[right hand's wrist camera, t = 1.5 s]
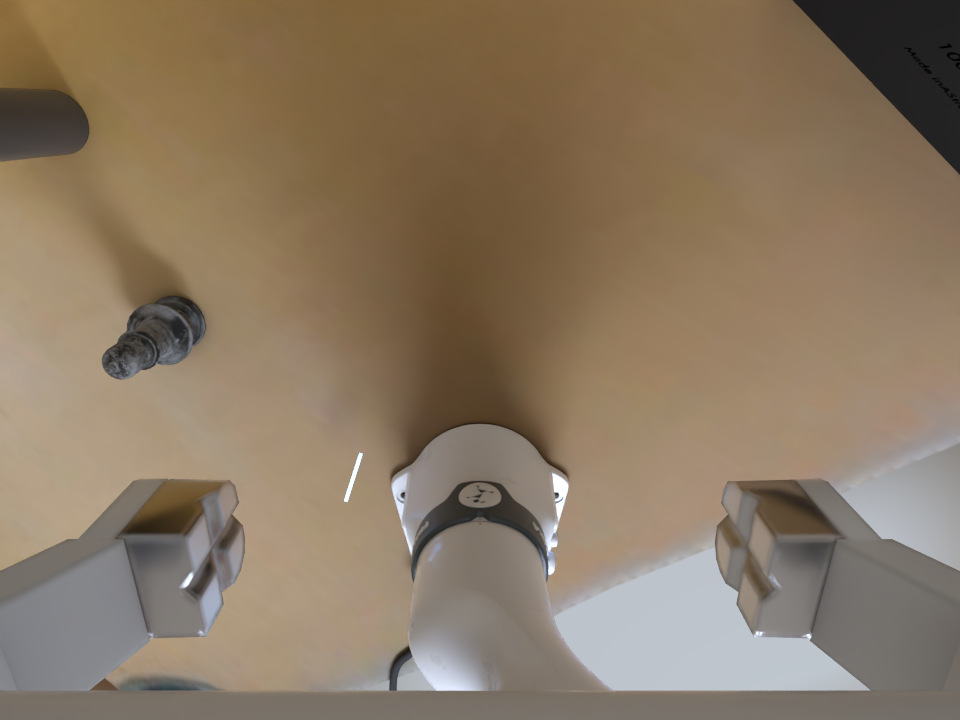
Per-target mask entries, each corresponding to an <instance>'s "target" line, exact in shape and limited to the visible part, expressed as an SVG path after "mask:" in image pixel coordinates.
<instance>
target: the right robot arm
mask: <svg viewBox="0 0 960 720" xmlns="http://www.w3.org/2000/svg"><path fill="white" fill-rule="evenodd" d="M361 457H362V453H359V456H358V459H357V462H356V465H355V468H354V472H353V475H352V478H351V481H350V484H349V487H348V491H347V494H346V497H345V500H344V501H346V502H347V501H348V498H349V495H350V492H351V489H352V485H353V482H354V479H355V476H356V473H357V470H358V467H359V464H360V460H361ZM391 489H392V493H393V496H394V499H395V503H396V506H397V510H398V513H399V516H400V520H401V523H402V527H403V530H404V533H405V537H406V540H407V543H408V547H409V550H410V554H411V561H412V566H411V567H412V578H413V582H414V586H413V593H412V601H411V608H410V615H409V623H408V642H409V647H410V650H408V651H407V652H406V653H404V654H403V655H402V656H401V657H400V658H399V659H398V660H397V661H396V663H395V664H394V666H393V668H392V671H391V676H390V689H389V691H89V690H90V689H91V688H93V687H94V686H95V685H96V684H98V683H99V682H100V681H101V680H102V679H104V678H105V677H106V676H107V675H109V674H110V673H111V672H112V671H114V670H115V669H116V668H117V667H119V666H120V665H121V664H122V663H123V662H125V661H126V660H127V659H128V658H130V657H131V656H132V655H133V654H135V653H136V652H137V651H138V650H139V649H141V648H142V647H143V646H144V645H146V644H147V643H148V642H149V641H150V639H149V638H176V637H206V636H207V634H208V632H209V631H210V629H211V627H212V625H213V623H214V621H215V619H216V617H217V615H218V613H219V612H220V610H221V608H222V606H223V598H222V593H221V592H222V591H224V590H225V589H227V588H228V587H230V586H231V585H232V584H234V583H235V581H236V579H237V577H238V575H239V573H240V570H241V567H242V562H243V558H244V553H245V537H244V531H243V525H242V524H241V523H240V522H239V521H238V520H237V519H236V518H235V517H234V516H233V515H232V513H233V512H234V510H235V508H236V507H237V505H238V503H239V502H238V497H237V492H236V488H235V485H234V484H233V483H232V482H231V481H230V480H188V479H170V480H168V479H140V480H136V481H133V482H132V483H131V484H130V485H129V486H128V487H127V488H126V489H125V490H124V491H123V492H122V493H121V494H120V495H119V496H118V498H117V499H116V500H115V501H114V502H113V503H112V504H111V505H110V506H109V507H108V508H107V509H106V510H105V511H104V512H103V513H102V514H101V516H100V517H99V518H98V519H97V520H96V521H95V522H94V523H93V524H92V525H91V526H90V527H89V528H88V529H87V530H86V531H85V532H84V533H83V535H82V536H81V537H80V538H79V539H67V540H65V541H63V542H61V543H59V544H57V545H55V546H53V547H50V548H48V549H46V550H44V551H42V552H40V553H38V554H36V555H33V556H31V557H29V558H27V559H25V560H23V561H21V562H19V563H16V564H14V565H12V566H10V567H8V568H6V569H4V570H2V571H0V720H960V571H958V570H956V569H954V568H952V567H950V566H948V565H945V564H943V563H941V562H939V561H937V560H935V559H933V558H931V557H929V556H926V555H924V554H922V553H920V552H918V551H916V550H914V549H912V548H910V547H907V546H905V545H903V544H901V543H899V542H897V541H895V540H893V539H881V538H880V537H879V536H878V535H877V534H876V532H875V531H874V530H873V529H872V528H871V527H870V526H869V525H868V524H867V523H866V522H865V521H864V520H863V519H862V518H861V517H860V515H859V514H858V513H857V512H856V511H855V510H854V509H853V508H852V507H851V506H850V505H849V504H848V503H847V502H846V501H845V500H844V499H843V497H842V496H841V495H840V494H839V493H838V492H837V491H836V490H835V489H834V488H833V487H832V486H831V485H830V484H829V483H828V482H827V481H824V480H822V479H793V480H766V481H728V482H727V484H726V486H725V488H724V491H723V496H722V501H721V503H722V505H723V507H724V508H725V510H726V512H727V513H728V515H727V516H726V517H725V518H724V519H723V520H722V521H721V522H720V523H719V524H718V525H717V531H716V539H715V548H716V559H717V563H718V567H719V570H720V573H721V575H722V577H723V579H724V581H725V583H726V584H728V585H729V586H730V587H732V588H733V589H735V590H736V591H738V592H739V593H738V598H737V606H738V608H739V610H740V612H741V613H742V615H743V617H744V619H745V621H746V623H747V625H748V627H749V629H750V630H751V632H752V634H753V636H754V637H783V638H811V639H810V641H811V642H812V643H813V644H815V645H816V646H817V647H818V648H820V649H821V650H822V651H823V652H825V653H826V654H827V655H828V656H829V657H831V658H832V659H833V660H834V661H836V662H837V663H838V664H839V665H841V666H842V667H843V668H844V669H845V670H847V671H848V672H849V673H850V674H852V675H853V676H854V677H855V678H857V679H858V680H859V681H860V682H861V683H863V684H864V685H865V686H866V687H868V688H869V689H870V690H871V691H614V690H613V689H612V688H610V687H609V686H607V685H606V684H605V683H604V682H603V681H601V680H600V679H599V678H598V677H597V676H595V675H594V674H593V673H592V672H591V671H590V670H589V669H588V668H587V667H586V666H585V665H584V664H583V663H582V662H581V661H580V659H579V658H578V657H577V656H576V655H575V654H574V653H573V651H572V650H571V649H570V648H569V646H568V645H567V644H566V642H565V641H564V639H563V638H562V636H561V634H560V632H559V630H558V628H557V626H556V623H555V619H554V616H553V612H552V608H551V604H550V600H549V595H548V590H547V585H546V582H547V578H548V575H551V574H553V572H554V568H555V553H553V552H551V551H550V550H551V547H556V546H557V543H558V534H557V533H556V530H557V527H558V523H559V520H560V516H561V513H562V510H563V506H564V503H565V500H566V496H567V493H568V489H569V481H568V478H567V476H566V475H565V474H563V473H562V472H561V471H559V470H558V469H556V468H554V467H552V466H551V465H549V464H548V463H547V462H546V461H545V460H544V459H543V458H542V456H541V455H540V454H539V452H538V451H537V449H536V448H535V447H534V446H533V445H532V444H531V443H530V442H529V441H528V440H527V439H525V438H524V437H523V436H521V435H519V434H518V433H516V432H514V431H512V430H509V429H507V428H504V427H501V426H496V425H491V424H469V425H464V426H459V427H456V428H453V429H451V430H448V431H446V432H444V433H442V434H441V435H439V436H437V437H436V438H435V439H433V440H432V441H431V442H430V443H429V444H428V445H427V446H426V447H425V448H424V450H423V451H422V452H421V454H420V455H419V456H418V458H417V459H416V460H415V462H413V463H412V464H411V465H409V466H408V467H406V468H404V469H402V470H401V471H399V472H398V473H397V474H395V475H394V476H393V478H392V481H391ZM403 492H405V495H403V494H402V493H403ZM555 492H557V493H558V494H557V495H555ZM412 657H413V658H414V660H415V662H416V664H417V665H418V667H419V669H420V670H421V672H422V673H423V675H424V676H425V677H426V679H427V680H428V682H429V683H430V684H431V685H432V686H433V687H434V688H435V689H436V690H437V691H397V690H396V689H397V677H398V672H399V670H400V668H401V666H402V665H403V664H404V663H405V662H406V661H407V660H409V659H410V658H412Z"/></svg>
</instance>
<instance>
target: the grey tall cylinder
mask: <svg viewBox="0 0 960 720" xmlns="http://www.w3.org/2000/svg"><path fill="white" fill-rule="evenodd" d="M88 134H89V126H88V121H87V118H86V115H85V113H84V111H83V110H82V108H81V107H80V106H79V104H78V103H77V102H76V101H75V100H74V99H72V98H71V97H70V96H68V95H66V94H64V93H62V92H59V91H55V90H38V89H16V88H0V162H1V161H10V160H20V159H29V158H38V157H47V156H56V155H66V154H72V153H75V152H77V151H79V150H80V149H81V148H82V147H83V146H84V145H85V143H86V141H87V139H88Z"/></svg>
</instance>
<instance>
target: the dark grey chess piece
mask: <svg viewBox="0 0 960 720" xmlns="http://www.w3.org/2000/svg"><path fill="white" fill-rule="evenodd" d="M204 333H205V321H204V317H203V315H202V313H201V312H200V310H199V309H198V308H197V307H196V306H195V305H194V304H193V303H192V302H190V301H188V300H186V299H184V298H181V297H177V296H168V297H164V298H161V299H160V300H158V301H157V302H155V304H147V305H144V306H141V307H139V308H138V309H136V310H135V311H134V312H133V313H132V314H131V316H130V317H129V320H128V323H127V332H125V333H124V334H122V335H121V336H120V338H119V339H118V342H117V344H115V345H114V346H112V347H111V348H109V349H108V350H107V351H106V352H105V353H104V355H103V357H102V365H103V368H104V370H105V371H106V372H107V374H109V375H110V376H111V377H114V378H116V379H127V378H131V377H132V376H134V375H135V374H137V373H138V372H139V371H140V370H146V369H150V368H152V367H153V366H155V365H156V364H160V365H172V364H175V363H179V362H180V361H182V360H183V359H185V358H186V357H187V355H188V354H189V353H190V351H191V349H192V347H193V346H194V345H196V344H198V343H199V342H200V340H201V339H202V338H203V336H204Z"/></svg>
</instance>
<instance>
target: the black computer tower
mask: <svg viewBox="0 0 960 720" xmlns="http://www.w3.org/2000/svg"><path fill="white" fill-rule="evenodd" d="M793 1H794V2H795V3H796V4H797V5H798V6H799V7H800V8H801V9H802V10H803V11H804V12H805V13H806V14H807V15H808V16H809V17H810V18H811V19H812V20H813V21H814V23H815V24H816V25H817V26H818V27H819V28H820V29H821V30H822V31H823V32H824V33H825V34H826V35H827V36H828V37H829V38H830V39H831V40H832V41H833V42H834V43H835V44H836V46H837V47H838V48H839V49H840V50H841V51H842V52H843V53H844V54H845V55H846V56H847V57H848V58H849V59H850V60H851V61H852V62H853V63H854V64H855V65H856V66H857V67H858V68H859V70H860V71H861V72H862V73H863V74H864V75H865V76H866V77H867V78H868V79H869V80H870V81H871V82H872V83H873V84H874V85H875V86H876V87H877V88H878V89H879V90H880V91H881V93H882V94H883V95H884V96H885V97H886V98H887V99H888V100H889V101H890V102H891V103H892V104H893V105H894V106H895V107H896V108H897V109H898V110H899V111H900V112H901V113H902V114H903V115H904V117H905V118H906V119H907V120H908V121H909V122H910V123H911V124H912V125H913V126H914V127H915V128H916V129H917V130H918V131H919V132H920V133H921V134H922V135H923V136H924V137H925V138H926V140H927V141H928V142H929V143H930V144H931V145H932V146H933V147H934V148H935V149H936V150H937V151H938V152H939V153H940V154H941V155H942V156H943V157H944V158H945V159H946V160H947V161H948V162H949V164H950V165H951V166H952V167H953V168H954V169H955V170H956V171H957V172H958V173H959V174H960V0H793Z"/></svg>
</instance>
